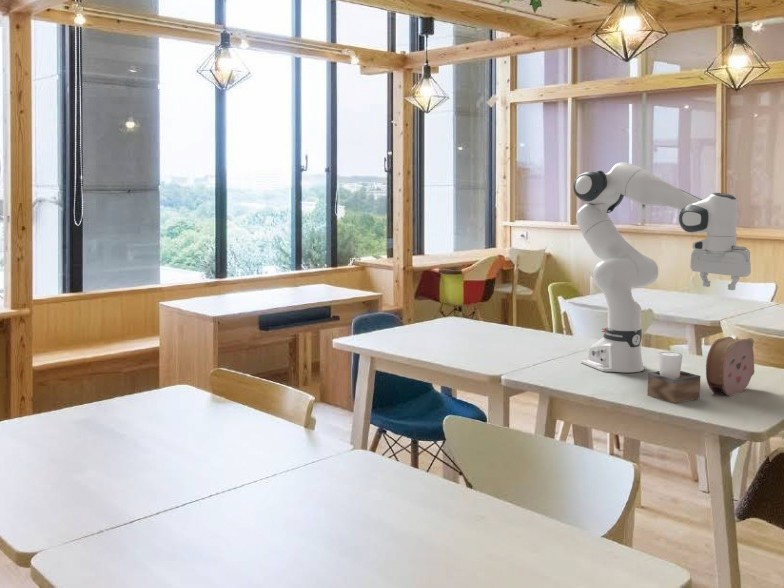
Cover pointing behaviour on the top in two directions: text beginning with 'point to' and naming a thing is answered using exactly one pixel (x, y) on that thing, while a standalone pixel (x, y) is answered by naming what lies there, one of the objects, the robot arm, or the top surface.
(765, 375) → the top surface
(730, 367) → the face sculpture
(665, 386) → the wooden box
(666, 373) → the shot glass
